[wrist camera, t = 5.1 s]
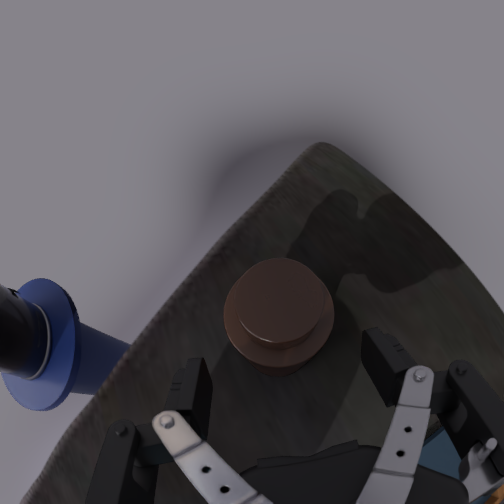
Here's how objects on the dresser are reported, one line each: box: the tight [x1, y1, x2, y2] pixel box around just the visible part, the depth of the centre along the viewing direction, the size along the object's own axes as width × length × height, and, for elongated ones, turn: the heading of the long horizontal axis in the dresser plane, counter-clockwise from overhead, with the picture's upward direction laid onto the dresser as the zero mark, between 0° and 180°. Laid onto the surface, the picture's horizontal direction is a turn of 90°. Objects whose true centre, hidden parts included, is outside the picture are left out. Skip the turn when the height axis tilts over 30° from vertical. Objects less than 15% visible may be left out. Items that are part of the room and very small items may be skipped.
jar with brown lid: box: [223, 258, 334, 377], centre depth 16 cm, size 5×5×12 cm
